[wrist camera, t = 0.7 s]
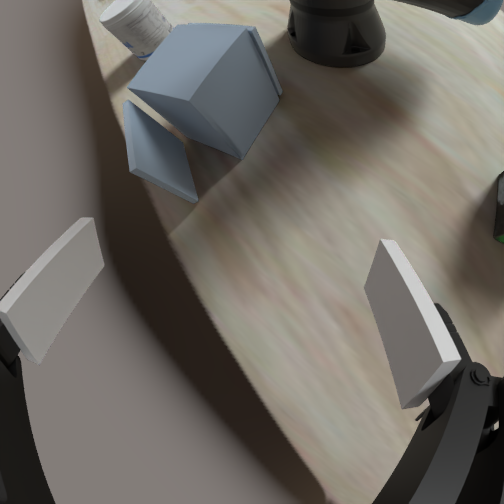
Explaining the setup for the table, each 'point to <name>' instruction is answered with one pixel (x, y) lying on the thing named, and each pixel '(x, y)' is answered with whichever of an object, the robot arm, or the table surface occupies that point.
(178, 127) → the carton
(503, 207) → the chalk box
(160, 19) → the supplement tub
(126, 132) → the right flap
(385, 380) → the table surface
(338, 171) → the table surface
